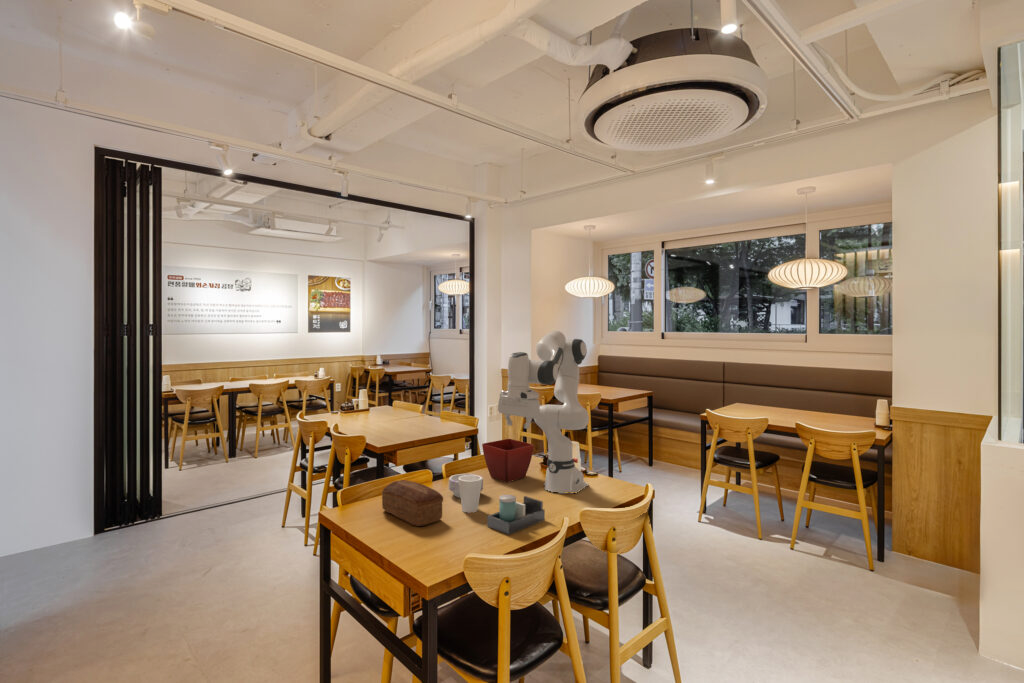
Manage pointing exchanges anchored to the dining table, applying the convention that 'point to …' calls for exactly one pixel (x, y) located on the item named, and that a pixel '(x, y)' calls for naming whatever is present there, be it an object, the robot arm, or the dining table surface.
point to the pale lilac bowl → (455, 484)
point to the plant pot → (507, 458)
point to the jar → (507, 508)
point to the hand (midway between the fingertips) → (517, 426)
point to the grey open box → (532, 516)
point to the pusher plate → (520, 510)
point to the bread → (412, 502)
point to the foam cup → (470, 492)
